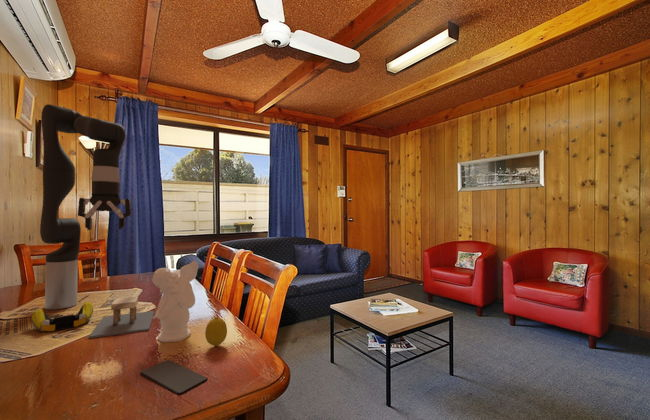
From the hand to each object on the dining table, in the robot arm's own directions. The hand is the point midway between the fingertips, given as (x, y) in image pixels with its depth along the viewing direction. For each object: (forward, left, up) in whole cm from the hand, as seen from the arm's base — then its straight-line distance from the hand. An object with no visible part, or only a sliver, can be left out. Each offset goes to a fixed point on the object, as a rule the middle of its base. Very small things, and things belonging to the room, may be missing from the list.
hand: (105, 229), depth 102 cm
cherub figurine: (+22, +22, -30) cm, 43 cm away
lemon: (+36, +32, -30) cm, 57 cm away
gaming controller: (+1, -10, -30) cm, 32 cm away
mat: (+7, +7, -30) cm, 32 cm away
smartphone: (+48, +22, -31) cm, 61 cm away
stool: (+7, +7, -30) cm, 31 cm away
